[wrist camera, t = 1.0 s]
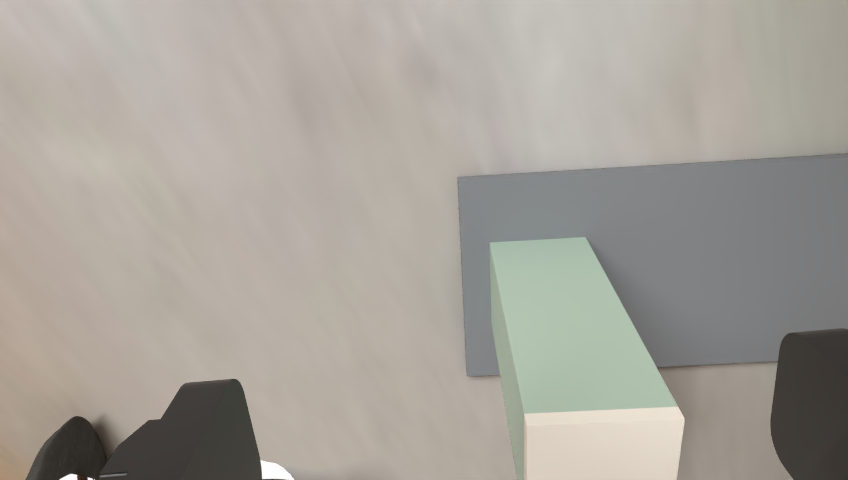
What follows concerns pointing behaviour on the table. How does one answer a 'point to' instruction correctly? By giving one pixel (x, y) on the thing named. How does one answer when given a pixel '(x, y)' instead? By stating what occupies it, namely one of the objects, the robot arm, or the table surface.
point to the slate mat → (678, 250)
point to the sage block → (576, 370)
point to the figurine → (93, 456)
